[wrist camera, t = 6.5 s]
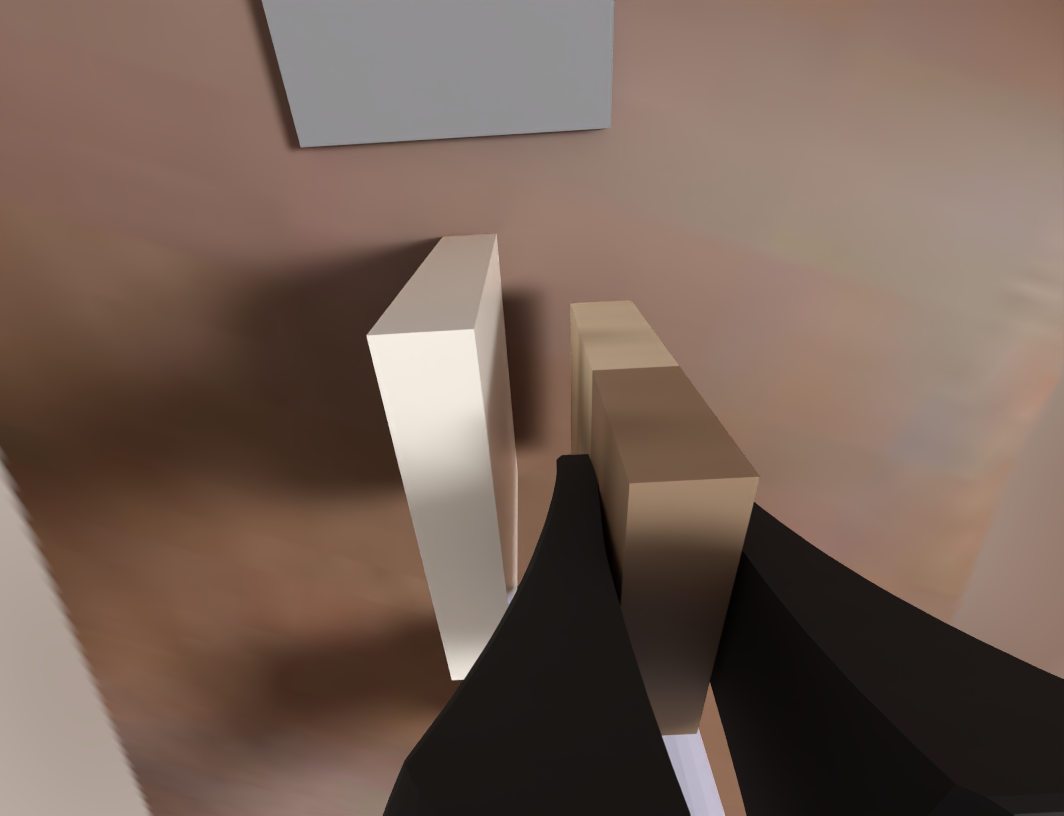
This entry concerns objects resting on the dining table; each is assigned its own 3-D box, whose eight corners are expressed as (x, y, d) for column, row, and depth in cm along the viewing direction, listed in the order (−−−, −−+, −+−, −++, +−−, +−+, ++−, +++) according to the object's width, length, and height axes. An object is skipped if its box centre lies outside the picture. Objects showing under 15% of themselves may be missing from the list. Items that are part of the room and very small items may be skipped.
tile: (517, 473, 18) (516, 676, 11) (473, 475, 18) (446, 680, 11) (496, 233, 14) (473, 328, 7) (438, 236, 14) (357, 335, 7)
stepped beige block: (620, 480, 15) (696, 734, 9) (571, 483, 15) (610, 737, 9) (631, 300, 12) (759, 476, 6) (570, 303, 12) (629, 483, 6)
